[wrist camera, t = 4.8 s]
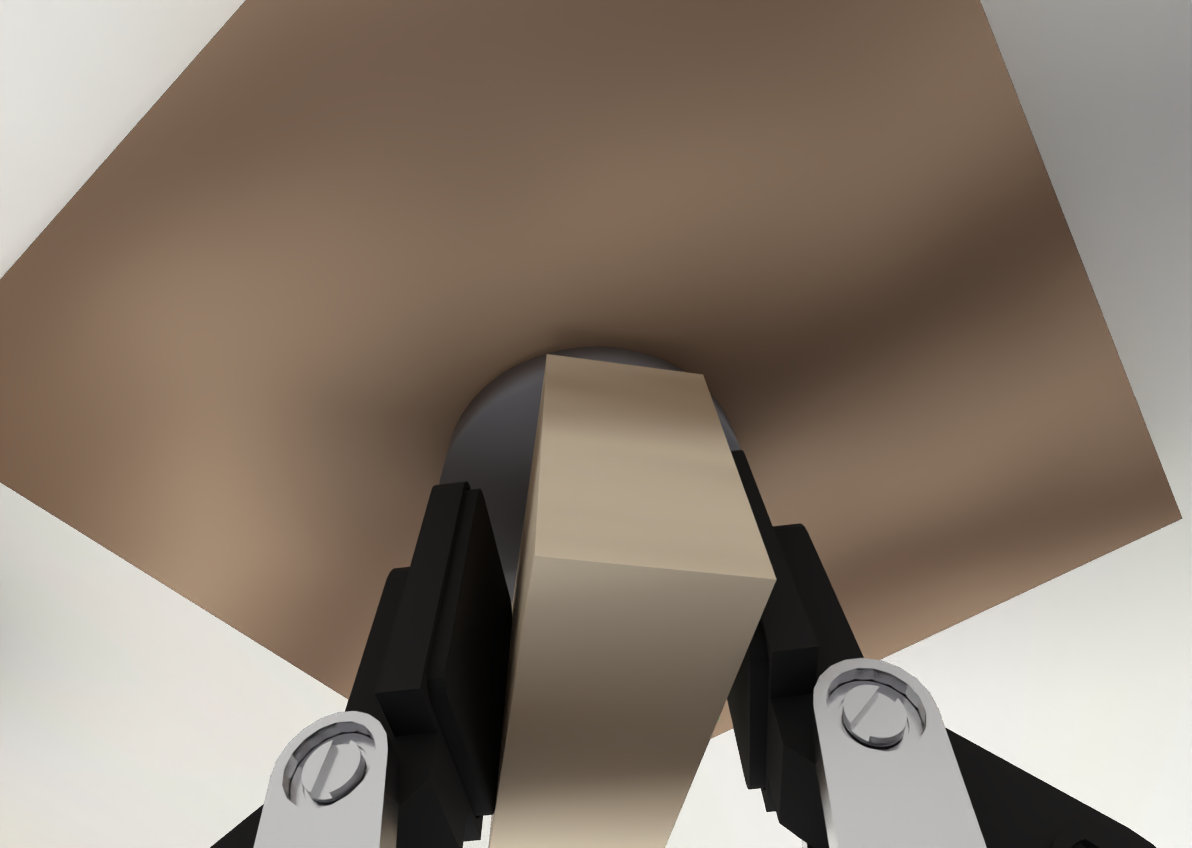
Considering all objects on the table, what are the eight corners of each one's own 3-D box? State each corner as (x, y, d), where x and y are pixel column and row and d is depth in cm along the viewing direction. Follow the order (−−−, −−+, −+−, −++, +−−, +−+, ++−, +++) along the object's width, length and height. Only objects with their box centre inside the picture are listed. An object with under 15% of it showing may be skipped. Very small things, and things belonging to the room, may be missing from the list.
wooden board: (1133, 476, 16) (1189, 524, 14) (541, 769, 21) (539, 825, 20) (724, -486, 8) (759, -593, 6) (-50, 371, 13) (-125, 416, 12)
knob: (454, 314, 11) (373, 540, 7) (779, 359, 12) (916, 592, 7) (430, 734, 17) (379, 1007, 12) (647, 748, 18) (675, 1014, 13)
